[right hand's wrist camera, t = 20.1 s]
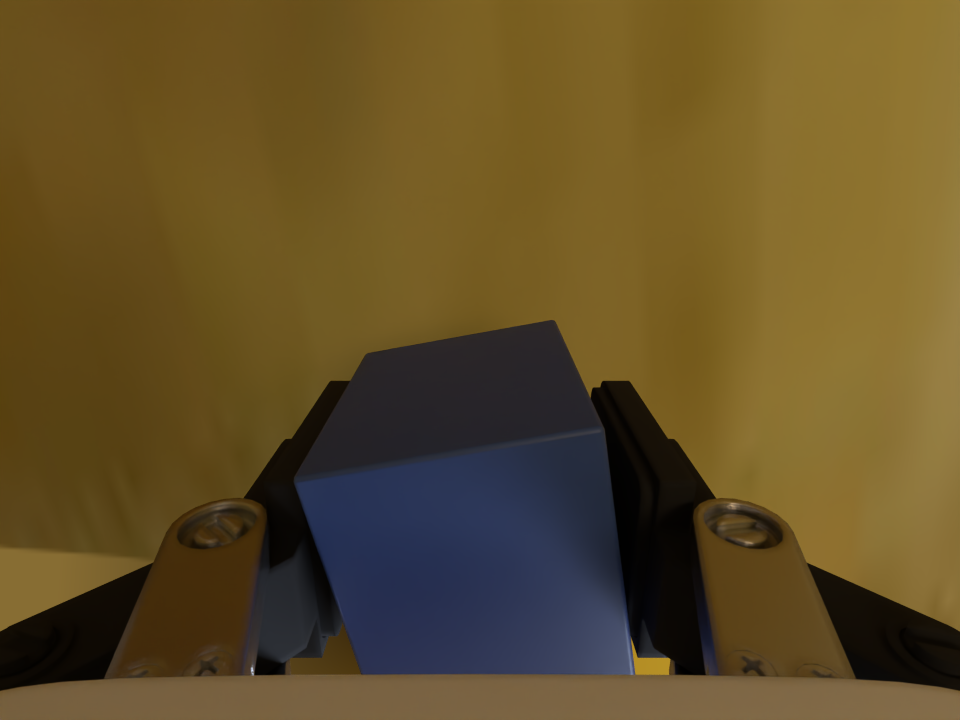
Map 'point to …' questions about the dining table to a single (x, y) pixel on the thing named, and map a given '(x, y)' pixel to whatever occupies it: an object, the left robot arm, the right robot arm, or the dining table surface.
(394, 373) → the brick
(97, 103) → the dining table surface
